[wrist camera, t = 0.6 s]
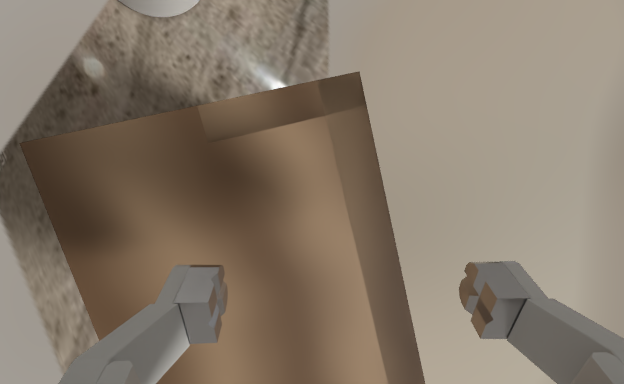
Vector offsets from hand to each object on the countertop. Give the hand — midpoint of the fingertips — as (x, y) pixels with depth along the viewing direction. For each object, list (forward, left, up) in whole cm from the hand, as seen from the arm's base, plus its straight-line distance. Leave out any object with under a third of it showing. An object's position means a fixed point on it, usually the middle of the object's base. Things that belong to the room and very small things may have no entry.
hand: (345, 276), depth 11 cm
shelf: (+5, -4, -42) cm, 42 cm away
